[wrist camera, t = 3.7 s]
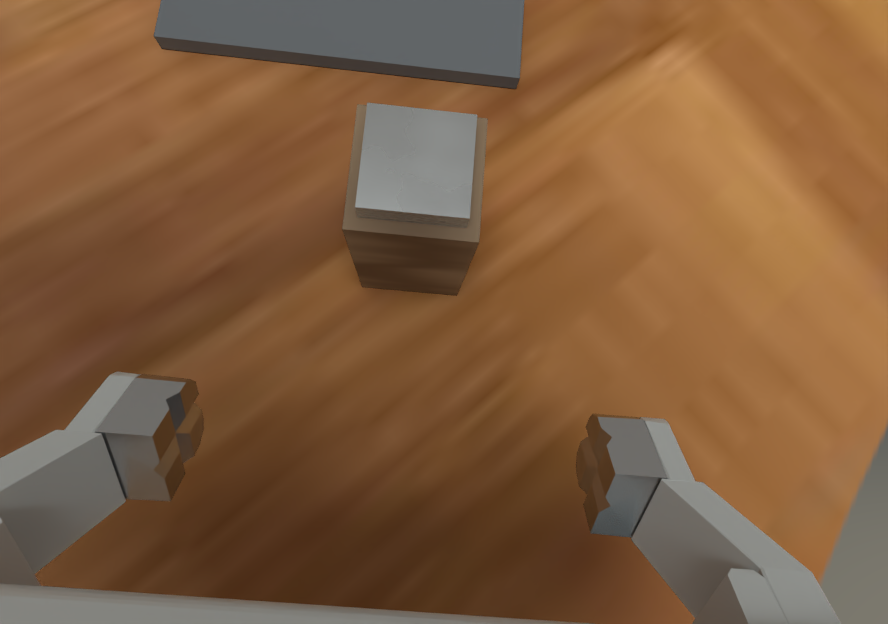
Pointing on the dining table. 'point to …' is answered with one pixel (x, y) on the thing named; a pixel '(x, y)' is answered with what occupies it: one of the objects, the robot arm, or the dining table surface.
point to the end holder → (357, 35)
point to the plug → (414, 197)
